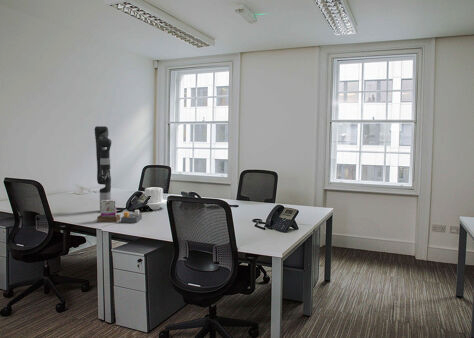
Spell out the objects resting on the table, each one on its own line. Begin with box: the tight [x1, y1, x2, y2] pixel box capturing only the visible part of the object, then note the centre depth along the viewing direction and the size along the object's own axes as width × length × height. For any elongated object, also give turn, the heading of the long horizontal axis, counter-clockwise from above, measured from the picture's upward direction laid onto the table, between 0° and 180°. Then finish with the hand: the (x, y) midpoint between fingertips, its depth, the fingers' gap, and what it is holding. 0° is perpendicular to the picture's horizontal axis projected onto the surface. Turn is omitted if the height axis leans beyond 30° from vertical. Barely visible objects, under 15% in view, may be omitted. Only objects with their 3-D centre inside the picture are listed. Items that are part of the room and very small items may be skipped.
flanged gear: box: [144, 186, 168, 211], centre depth 339 cm, size 25×25×19 cm
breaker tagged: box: [123, 211, 130, 217], centre depth 287 cm, size 3×3×4 cm
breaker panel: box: [120, 213, 143, 224], centre depth 291 cm, size 15×12×4 cm
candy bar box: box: [100, 199, 117, 217], centre depth 290 cm, size 11×5×16 cm, turn 100°
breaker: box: [133, 209, 140, 215], centre depth 295 cm, size 3×3×4 cm
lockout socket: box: [96, 214, 121, 223], centre depth 290 cm, size 9×15×4 cm, turn 89°
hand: (106, 183), depth 294 cm, fingers open, 8 cm apart
